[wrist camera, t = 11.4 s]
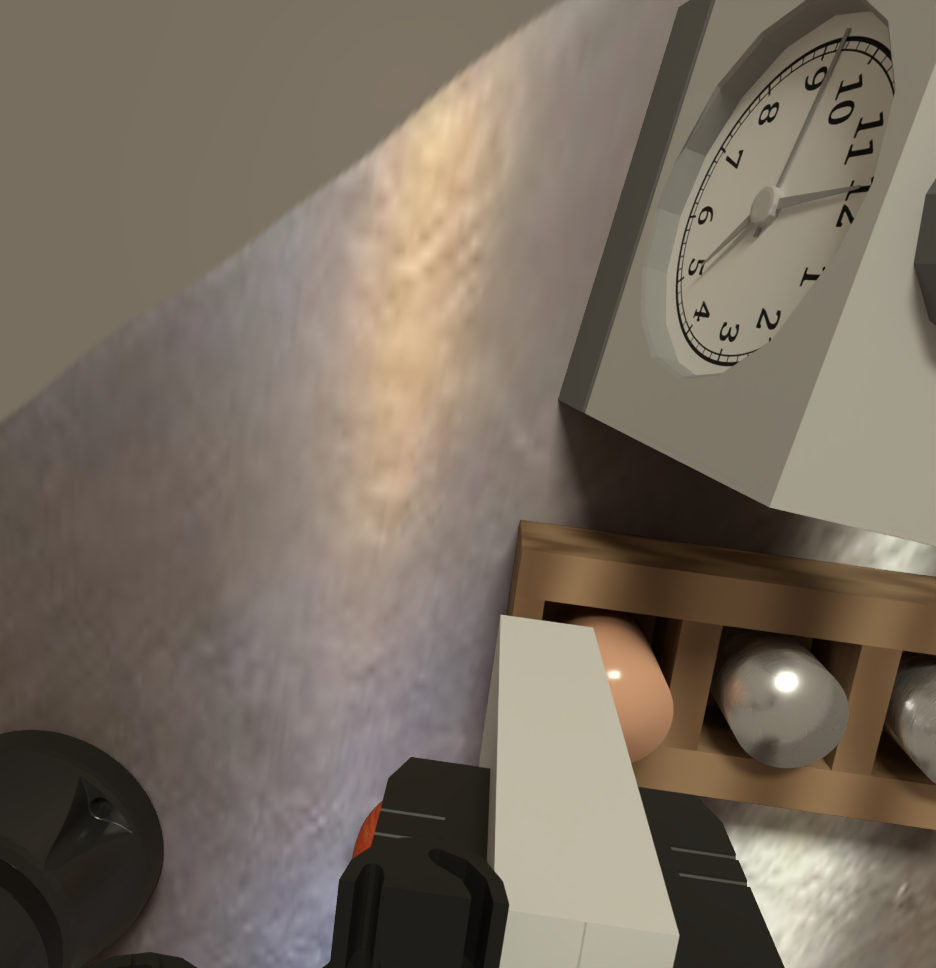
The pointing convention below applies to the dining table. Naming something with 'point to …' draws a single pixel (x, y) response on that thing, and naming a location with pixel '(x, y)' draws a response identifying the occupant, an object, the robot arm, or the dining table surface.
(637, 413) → the alarm clock
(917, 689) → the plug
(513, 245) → the dining table surface
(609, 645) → the plug terracotta
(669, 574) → the divided box
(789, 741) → the plug mid
